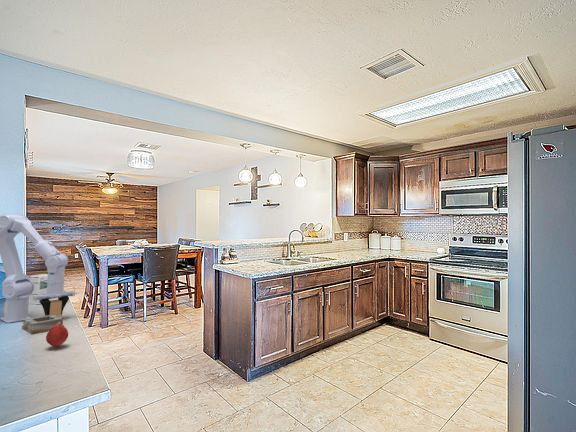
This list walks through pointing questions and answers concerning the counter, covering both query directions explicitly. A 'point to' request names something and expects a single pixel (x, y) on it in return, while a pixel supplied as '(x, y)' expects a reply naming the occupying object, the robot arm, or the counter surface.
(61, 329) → the onion
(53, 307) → the peg
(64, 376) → the counter surface
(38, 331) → the socket block
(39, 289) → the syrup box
